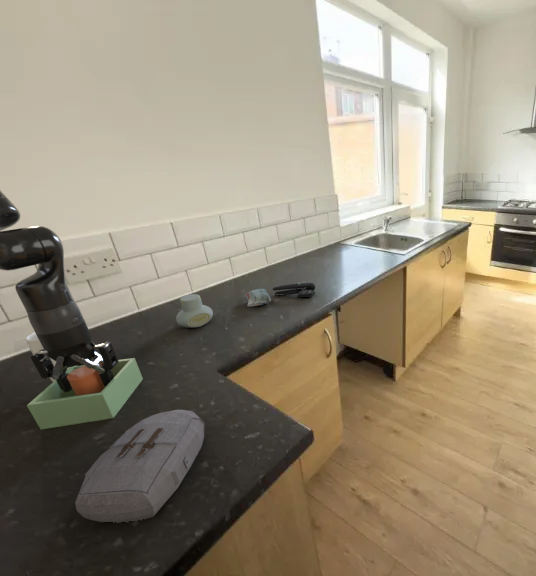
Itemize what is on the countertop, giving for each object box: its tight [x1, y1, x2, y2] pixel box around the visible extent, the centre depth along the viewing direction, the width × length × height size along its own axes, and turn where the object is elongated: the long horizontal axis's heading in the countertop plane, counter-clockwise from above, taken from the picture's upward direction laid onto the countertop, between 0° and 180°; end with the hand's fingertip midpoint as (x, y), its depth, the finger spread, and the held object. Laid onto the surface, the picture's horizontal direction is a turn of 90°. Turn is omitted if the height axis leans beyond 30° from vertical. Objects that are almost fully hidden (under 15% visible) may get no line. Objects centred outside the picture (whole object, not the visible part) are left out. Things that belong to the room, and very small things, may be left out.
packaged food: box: [243, 288, 272, 308], centre depth 123 cm, size 9×12×5 cm
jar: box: [67, 366, 106, 396], centre depth 73 cm, size 6×6×8 cm
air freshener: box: [175, 293, 214, 329], centre depth 107 cm, size 11×8×10 cm
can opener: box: [272, 281, 316, 298], centre depth 128 cm, size 18×7×6 cm, turn 84°
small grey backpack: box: [74, 409, 206, 524], centre depth 56 cm, size 15×8×20 cm
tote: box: [26, 357, 144, 430], centre depth 73 cm, size 14×14×7 cm
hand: (89, 386), depth 73 cm, fingers open, 7 cm apart
